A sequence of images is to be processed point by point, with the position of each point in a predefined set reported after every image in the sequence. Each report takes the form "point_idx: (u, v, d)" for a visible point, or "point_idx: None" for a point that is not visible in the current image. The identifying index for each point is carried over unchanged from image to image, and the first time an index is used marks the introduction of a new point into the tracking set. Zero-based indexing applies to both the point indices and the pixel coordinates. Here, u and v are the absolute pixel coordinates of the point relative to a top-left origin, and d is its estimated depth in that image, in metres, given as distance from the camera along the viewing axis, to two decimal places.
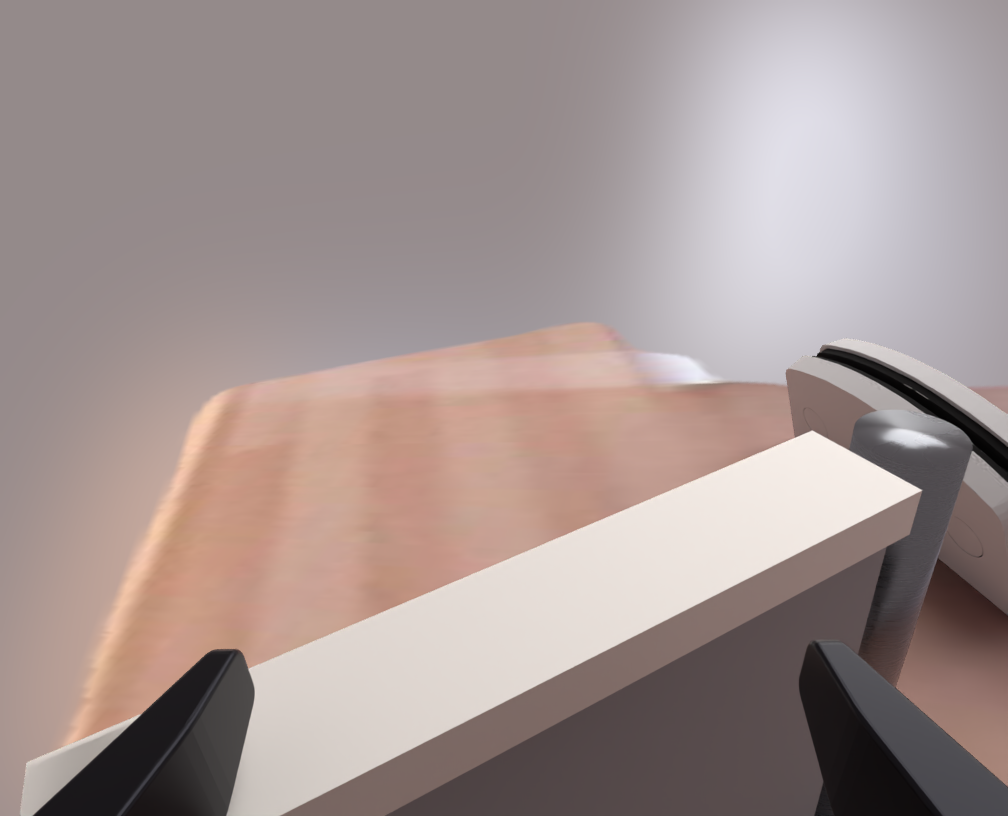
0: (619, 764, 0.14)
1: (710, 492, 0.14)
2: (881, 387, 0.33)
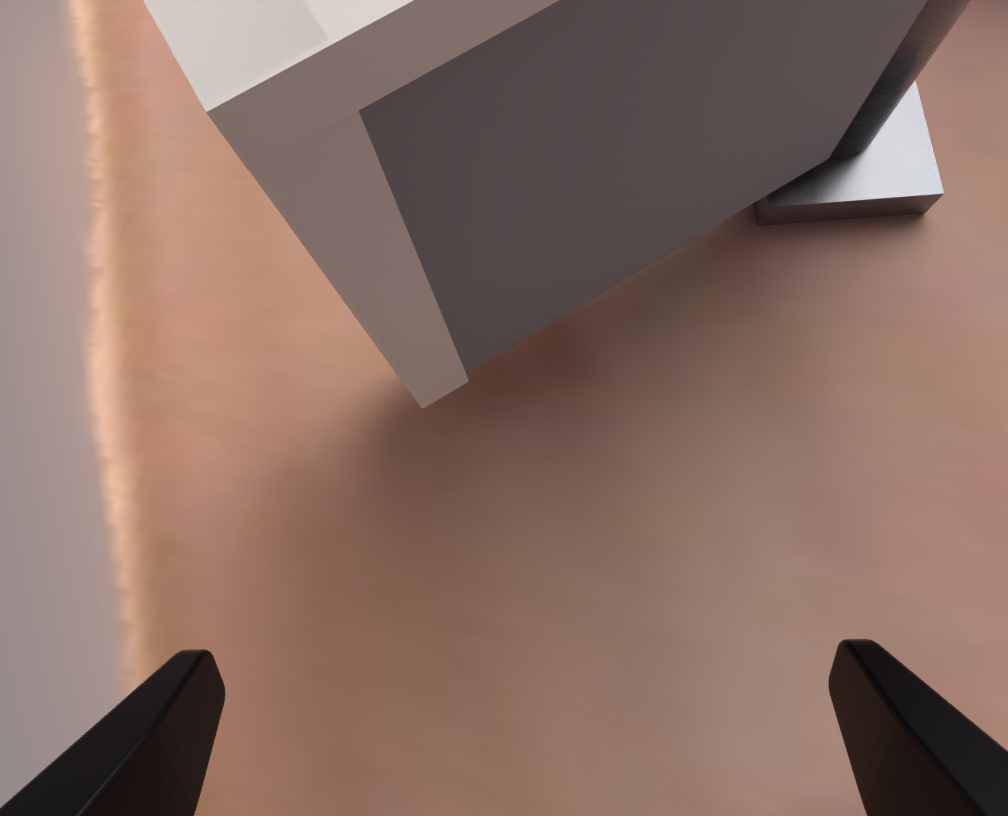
0: (723, 21, 0.13)
1: None
2: None
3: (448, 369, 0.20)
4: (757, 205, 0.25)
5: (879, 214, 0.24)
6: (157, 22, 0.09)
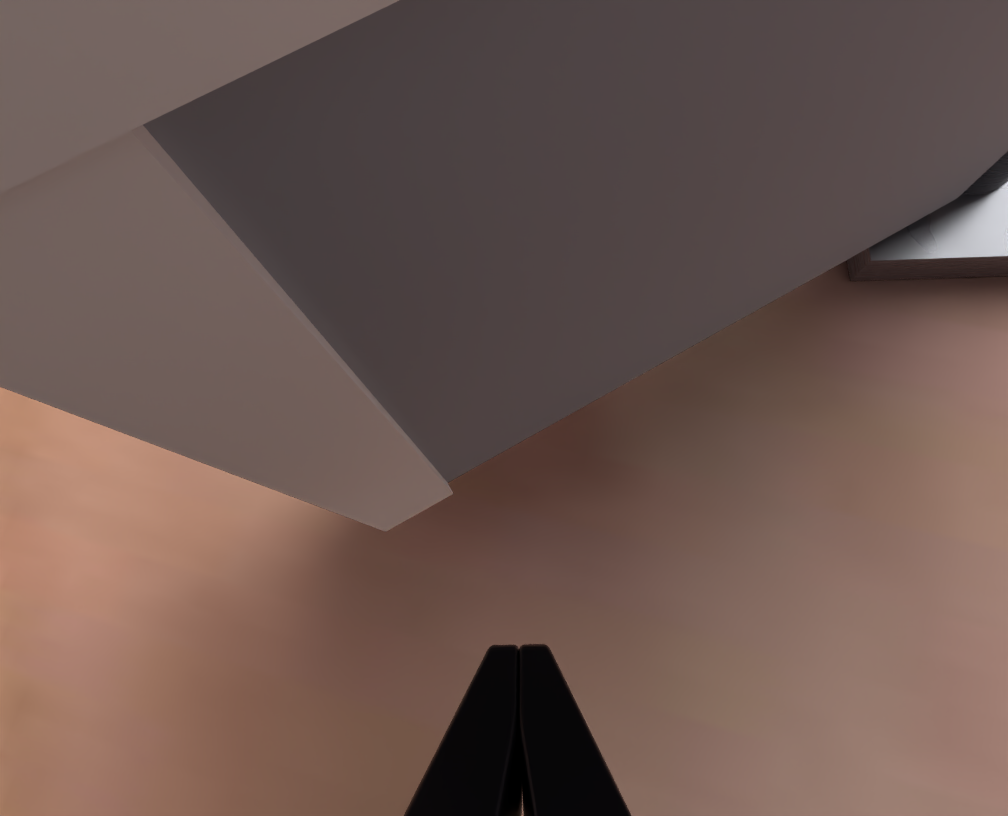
0: None
1: None
2: None
3: (423, 491, 0.14)
4: None
5: None
6: None
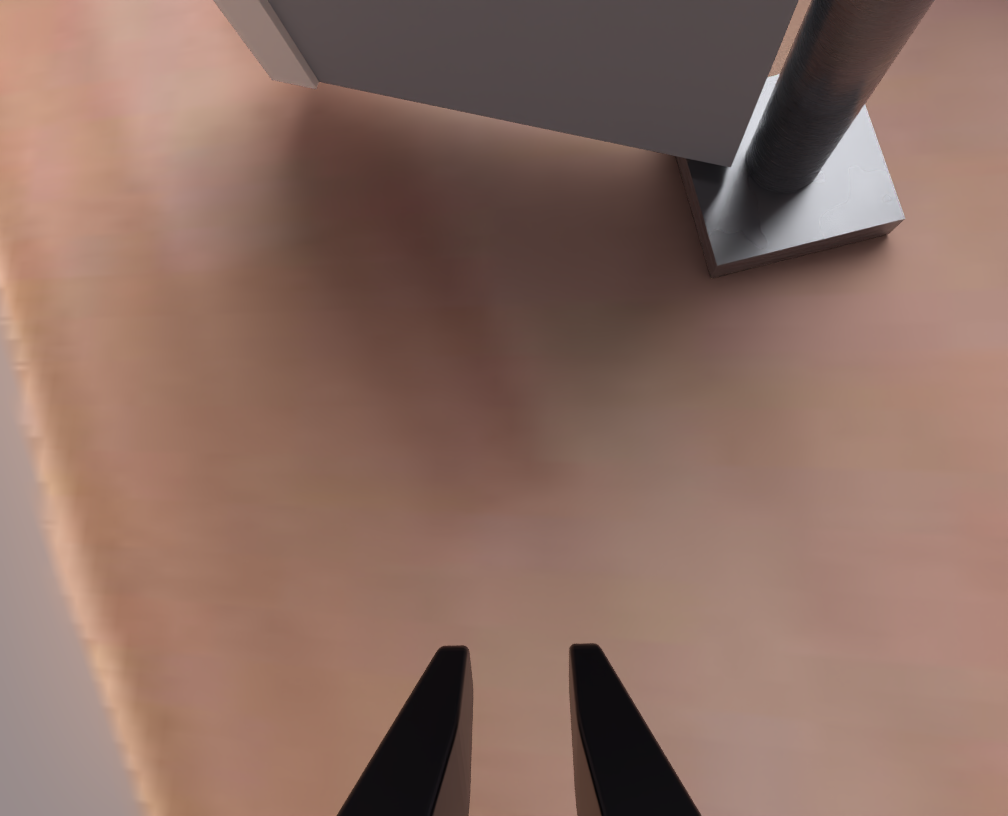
0: None
1: None
2: None
3: (281, 51, 0.22)
4: (705, 257, 0.23)
5: (838, 245, 0.23)
6: None
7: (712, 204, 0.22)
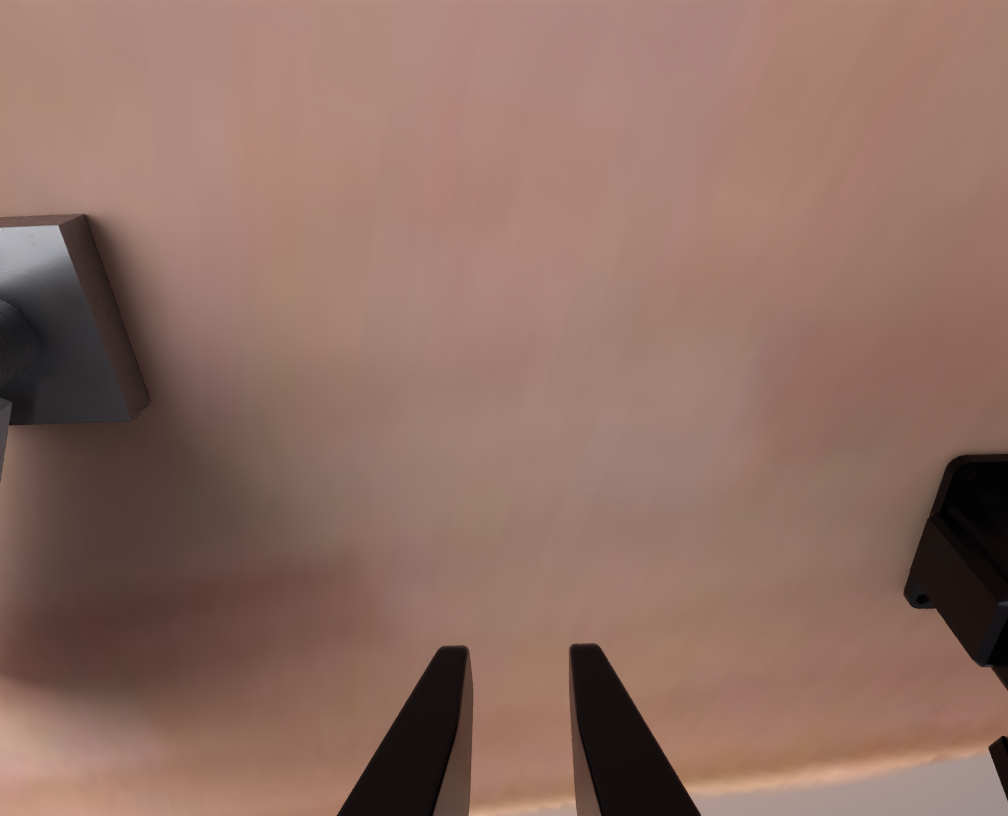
0: None
1: None
2: None
3: None
4: None
5: (103, 273, 0.19)
6: None
7: (60, 412, 0.20)
